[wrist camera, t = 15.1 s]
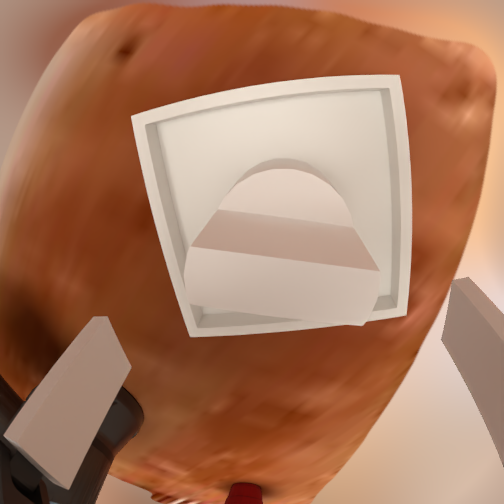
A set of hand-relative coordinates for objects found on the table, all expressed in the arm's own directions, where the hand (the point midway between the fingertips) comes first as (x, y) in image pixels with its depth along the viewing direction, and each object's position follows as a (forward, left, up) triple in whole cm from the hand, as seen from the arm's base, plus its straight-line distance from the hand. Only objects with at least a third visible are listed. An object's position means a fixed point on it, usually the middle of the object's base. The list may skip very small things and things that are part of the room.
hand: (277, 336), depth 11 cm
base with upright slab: (0, 0, -16) cm, 16 cm away
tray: (0, 0, -16) cm, 16 cm away
